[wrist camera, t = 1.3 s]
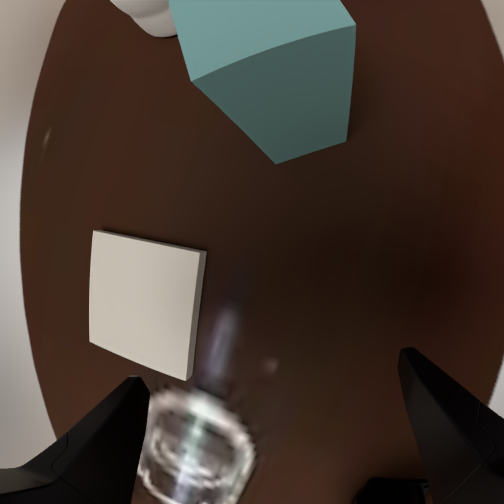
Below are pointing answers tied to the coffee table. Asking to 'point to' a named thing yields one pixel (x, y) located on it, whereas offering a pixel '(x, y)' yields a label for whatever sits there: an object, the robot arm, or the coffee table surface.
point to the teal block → (273, 68)
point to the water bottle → (150, 15)
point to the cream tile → (146, 300)
